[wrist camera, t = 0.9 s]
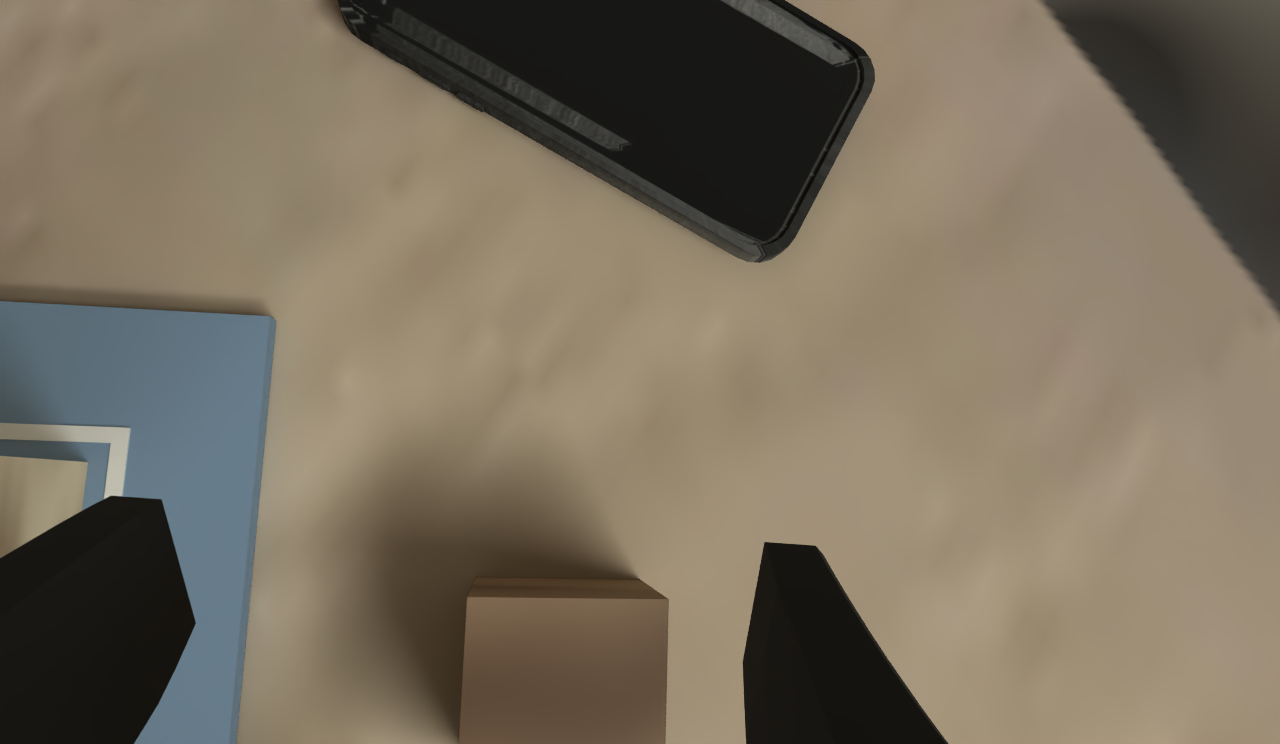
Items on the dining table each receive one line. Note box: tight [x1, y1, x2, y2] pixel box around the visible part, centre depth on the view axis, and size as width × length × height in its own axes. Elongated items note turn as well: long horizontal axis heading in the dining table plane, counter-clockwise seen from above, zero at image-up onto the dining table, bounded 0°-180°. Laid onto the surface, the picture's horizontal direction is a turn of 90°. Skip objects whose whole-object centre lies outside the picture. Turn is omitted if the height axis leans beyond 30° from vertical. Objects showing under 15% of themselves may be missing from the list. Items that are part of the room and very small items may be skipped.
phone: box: [338, 0, 875, 263], centre depth 25 cm, size 8×1×15 cm
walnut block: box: [459, 577, 669, 744], centre depth 20 cm, size 4×4×4 cm
